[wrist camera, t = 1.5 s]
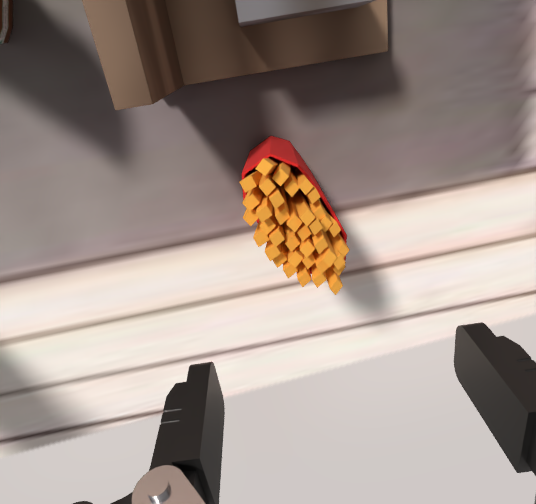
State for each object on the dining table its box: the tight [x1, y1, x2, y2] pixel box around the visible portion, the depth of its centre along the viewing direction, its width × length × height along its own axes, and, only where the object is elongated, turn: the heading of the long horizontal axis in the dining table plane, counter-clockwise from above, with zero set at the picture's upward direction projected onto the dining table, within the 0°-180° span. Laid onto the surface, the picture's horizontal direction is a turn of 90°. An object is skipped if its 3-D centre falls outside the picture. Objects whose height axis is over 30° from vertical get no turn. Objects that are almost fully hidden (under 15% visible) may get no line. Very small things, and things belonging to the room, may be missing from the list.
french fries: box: [240, 136, 349, 295], centre depth 28 cm, size 9×4×13 cm, turn 35°
